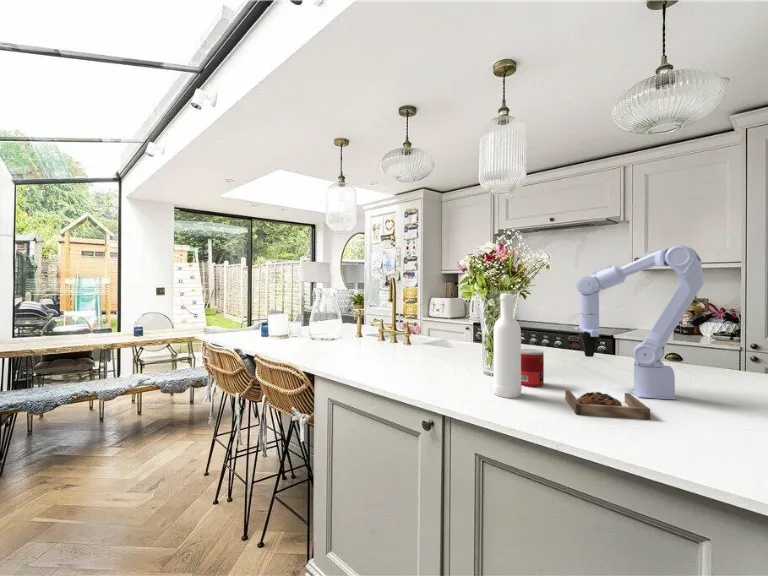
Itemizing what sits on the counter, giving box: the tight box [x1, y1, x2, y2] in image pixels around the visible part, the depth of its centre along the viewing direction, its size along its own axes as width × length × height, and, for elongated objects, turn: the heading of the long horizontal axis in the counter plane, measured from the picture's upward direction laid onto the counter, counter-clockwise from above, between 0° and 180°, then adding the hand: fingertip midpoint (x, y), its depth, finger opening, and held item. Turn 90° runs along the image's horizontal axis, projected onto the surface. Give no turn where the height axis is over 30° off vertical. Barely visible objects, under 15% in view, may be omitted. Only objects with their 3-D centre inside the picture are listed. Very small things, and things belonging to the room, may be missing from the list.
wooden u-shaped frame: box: [564, 389, 651, 421], centre depth 105 cm, size 16×14×2 cm
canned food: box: [521, 348, 545, 388], centre depth 130 cm, size 8×8×11 cm
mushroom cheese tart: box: [576, 391, 623, 406], centre depth 106 cm, size 11×11×5 cm
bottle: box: [493, 293, 522, 399], centre depth 118 cm, size 8×8×30 cm
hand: (589, 356), depth 127 cm, fingers closed
